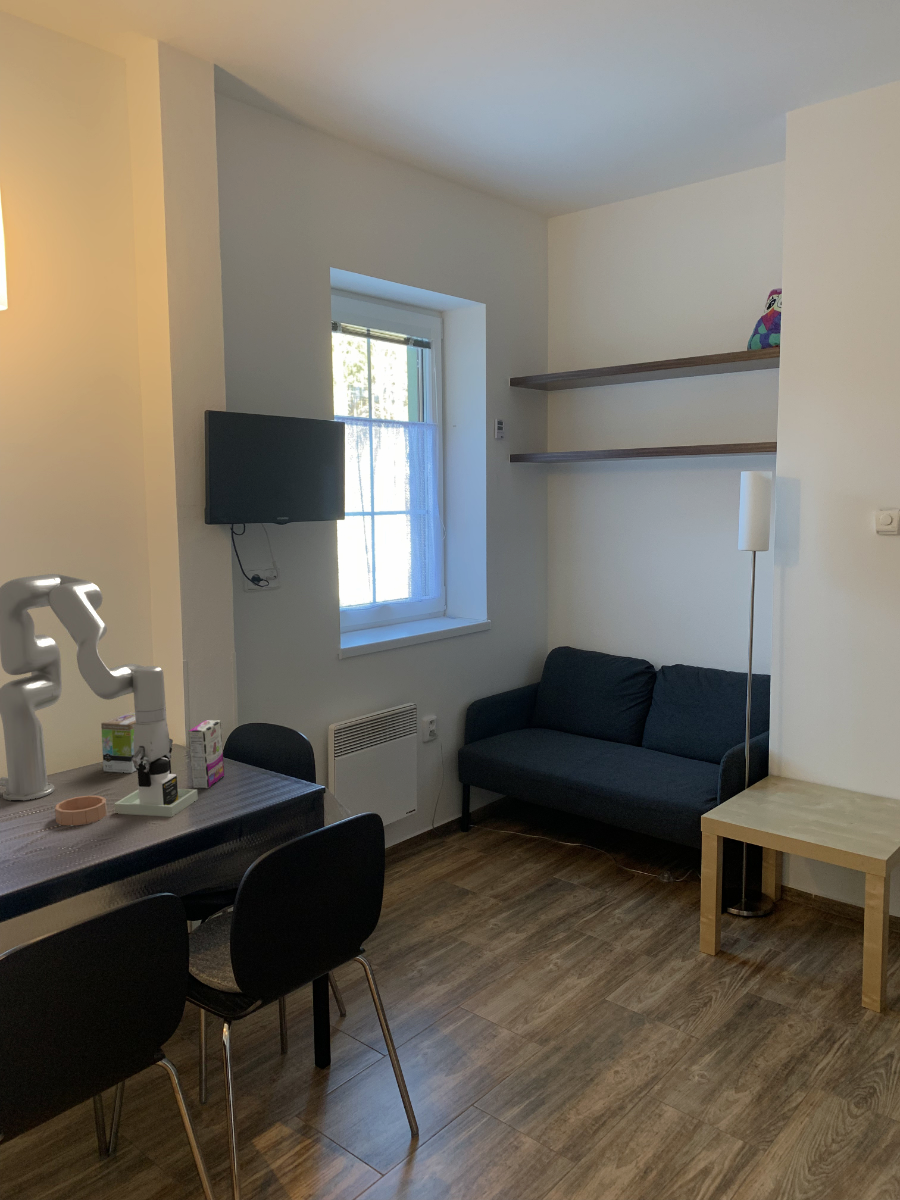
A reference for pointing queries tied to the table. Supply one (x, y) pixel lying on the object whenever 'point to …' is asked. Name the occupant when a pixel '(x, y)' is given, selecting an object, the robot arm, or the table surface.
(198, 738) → the candy bar box
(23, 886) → the table surface
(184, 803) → the tray
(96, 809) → the faceted tan ring
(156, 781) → the medicine bottle
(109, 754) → the tea box
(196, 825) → the table surface
